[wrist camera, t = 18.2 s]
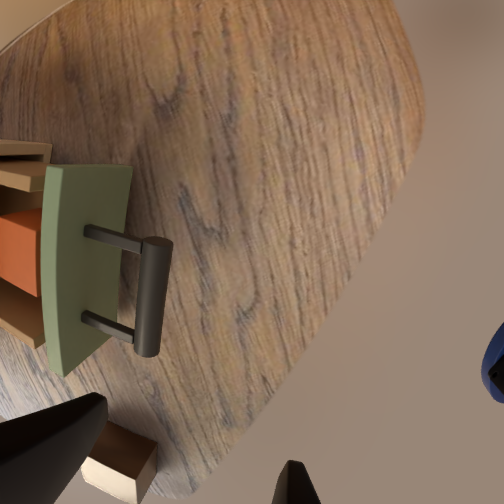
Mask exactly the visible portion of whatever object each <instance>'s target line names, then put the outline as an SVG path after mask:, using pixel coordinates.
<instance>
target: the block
mask: <svg viewBox="0 0 504 504" xmlns="http://www.w3.org/2000/svg"><path fill="white" fill-rule="evenodd" d="M41 223H42V208H36V209H31V210H26V211H21V212H16V213H11V214H7V215H2V216H0V277H2V278H3V279H5V280H7V281H8V282H10V283H12V284H14V285H15V286H17V287H19V288H21V289H22V290H24V291H26V292H28V293H30V294H32V295H33V296H35V297H39V296H41V295H42V293H41Z"/></svg>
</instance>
